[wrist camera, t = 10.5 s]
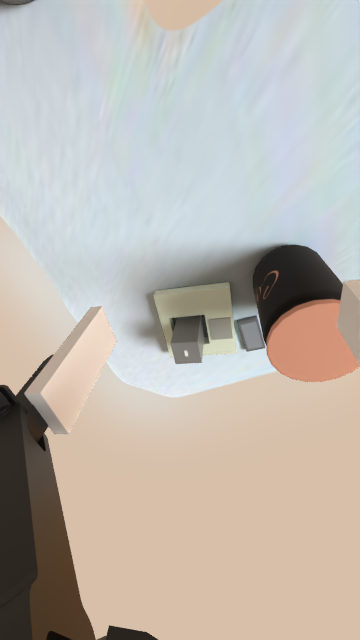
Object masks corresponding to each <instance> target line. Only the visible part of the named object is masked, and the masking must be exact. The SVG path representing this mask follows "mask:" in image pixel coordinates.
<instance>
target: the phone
mask: <svg viewBox="0 0 360 640" xmlns="http://www.w3.org/2000/svg"><path fill="white" fill-rule="evenodd" d="M237 323H238V326H239V329H240V332H241V335H242V338H243V342H244V345H245V348H246V351H253V350H258V349H263V348H265V344H264V341H263V337H262V333H261V330H260V326H259V323H258V319H257V316H254V317H249V318H245V319H241V320H237Z"/></svg>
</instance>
